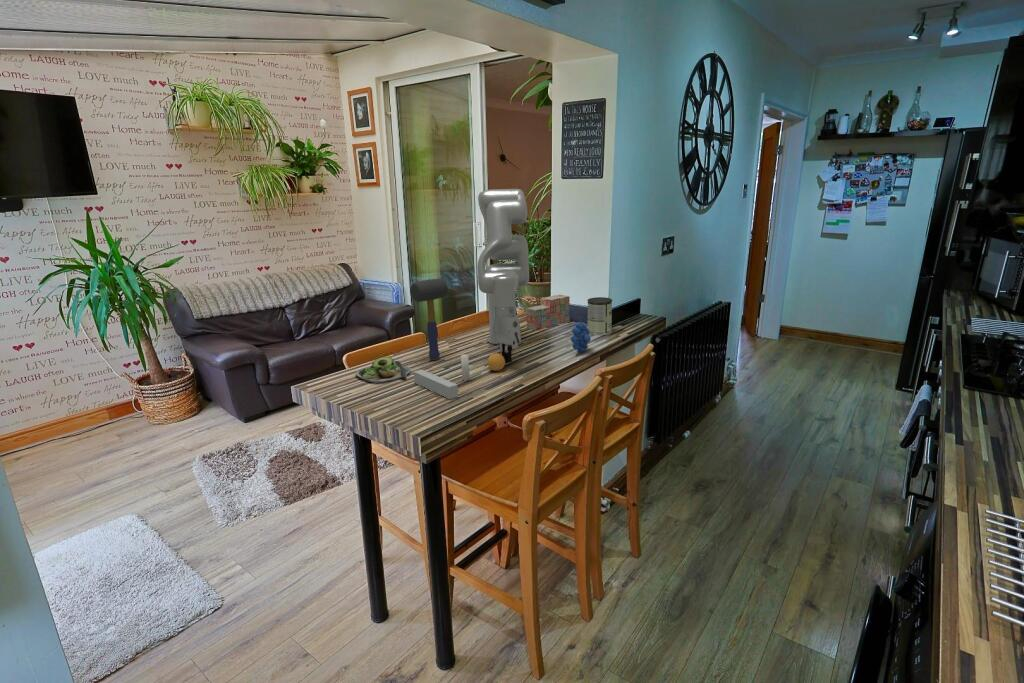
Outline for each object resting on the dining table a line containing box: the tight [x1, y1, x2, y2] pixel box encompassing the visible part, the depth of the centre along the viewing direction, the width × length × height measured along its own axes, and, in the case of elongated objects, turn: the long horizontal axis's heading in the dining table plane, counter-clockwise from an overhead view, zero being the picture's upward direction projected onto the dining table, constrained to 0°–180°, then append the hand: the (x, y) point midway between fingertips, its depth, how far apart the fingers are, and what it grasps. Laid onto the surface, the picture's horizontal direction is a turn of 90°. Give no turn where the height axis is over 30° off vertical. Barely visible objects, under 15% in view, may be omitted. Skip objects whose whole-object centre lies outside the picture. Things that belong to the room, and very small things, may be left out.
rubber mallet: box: [409, 278, 449, 361], centre depth 191 cm, size 12×8×30 cm, turn 133°
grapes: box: [570, 321, 591, 354], centre depth 195 cm, size 12×7×12 cm, turn 141°
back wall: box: [413, 369, 459, 400], centre depth 165 cm, size 3×20×4 cm, turn 42°
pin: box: [460, 353, 470, 381], centre depth 172 cm, size 2×2×8 cm
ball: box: [487, 352, 506, 372], centre depth 180 cm, size 6×6×6 cm
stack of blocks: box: [526, 294, 571, 331], centre depth 237 cm, size 21×6×12 cm, turn 131°
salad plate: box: [355, 355, 412, 384], centre depth 180 cm, size 19×18×5 cm
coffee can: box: [587, 296, 613, 336], centre depth 222 cm, size 10×10×14 cm
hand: (506, 362), depth 183 cm, fingers closed
